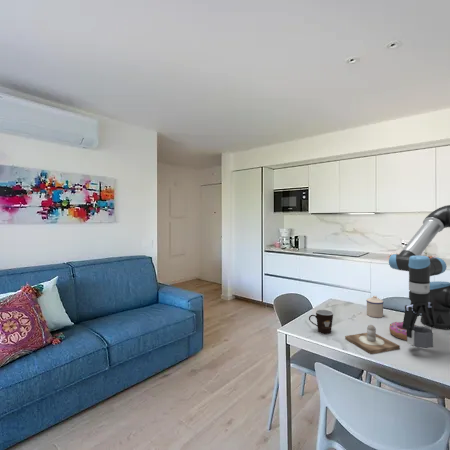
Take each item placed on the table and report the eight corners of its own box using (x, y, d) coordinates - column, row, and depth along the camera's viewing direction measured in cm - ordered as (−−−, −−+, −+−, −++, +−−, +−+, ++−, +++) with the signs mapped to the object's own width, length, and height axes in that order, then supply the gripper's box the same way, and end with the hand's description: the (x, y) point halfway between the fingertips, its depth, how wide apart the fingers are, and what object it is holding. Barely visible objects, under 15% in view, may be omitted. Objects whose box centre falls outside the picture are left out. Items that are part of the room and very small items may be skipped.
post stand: (372, 334, 143) (372, 317, 143) (399, 348, 128) (399, 329, 127) (345, 339, 138) (345, 321, 138) (370, 354, 123) (370, 334, 123)
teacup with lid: (386, 317, 166) (387, 298, 166) (372, 318, 165) (372, 298, 165) (374, 310, 178) (374, 292, 177) (360, 311, 177) (360, 293, 177)
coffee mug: (333, 329, 150) (333, 310, 150) (332, 335, 142) (332, 316, 142) (311, 326, 155) (311, 308, 155) (308, 332, 147) (308, 313, 147)
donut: (407, 344, 133) (407, 333, 132) (382, 332, 146) (382, 322, 146) (431, 340, 136) (431, 329, 136) (405, 328, 150) (405, 319, 150)
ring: (417, 337, 130) (417, 324, 130) (437, 345, 121) (437, 332, 121) (402, 340, 127) (402, 327, 127) (421, 349, 119) (421, 335, 118)
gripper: (407, 296, 117) (407, 350, 118) (446, 291, 123) (446, 342, 124) (392, 292, 124) (392, 342, 125) (429, 286, 130) (429, 335, 131)
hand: (419, 342), depth 124 cm, fingers closed on ring, 9 cm apart
